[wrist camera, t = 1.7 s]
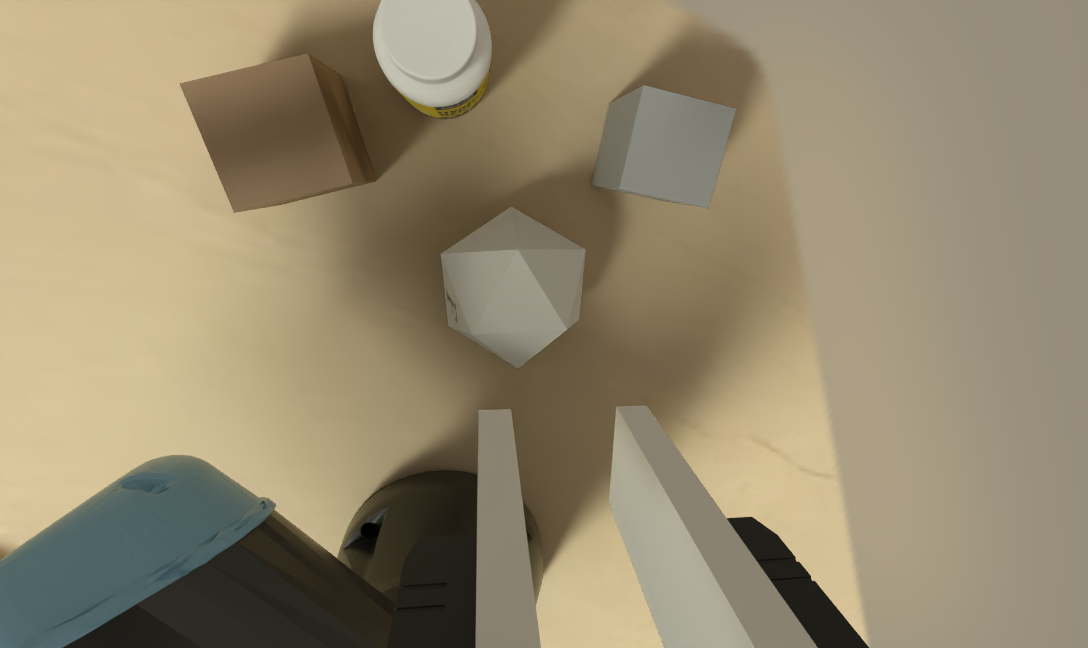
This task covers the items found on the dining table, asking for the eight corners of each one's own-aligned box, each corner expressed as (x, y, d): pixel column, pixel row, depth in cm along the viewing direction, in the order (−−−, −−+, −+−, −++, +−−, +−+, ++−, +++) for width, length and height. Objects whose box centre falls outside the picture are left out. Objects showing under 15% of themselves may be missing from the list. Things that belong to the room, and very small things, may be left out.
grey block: (663, 200, 33) (708, 208, 27) (591, 185, 33) (619, 188, 26) (683, 121, 32) (736, 108, 26) (609, 103, 31) (643, 85, 25)
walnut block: (376, 181, 31) (352, 183, 25) (280, 204, 31) (234, 212, 25) (341, 76, 29) (307, 53, 24) (239, 100, 29) (179, 83, 23)
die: (489, 181, 32) (393, 246, 25) (617, 209, 30) (549, 290, 23) (493, 287, 37) (414, 366, 30) (603, 320, 35) (543, 415, 28)
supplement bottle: (446, 140, 31) (430, 126, 21) (376, 68, 29) (326, 20, 20) (508, 73, 30) (520, 29, 21) (440, -4, 29) (420, -89, 19)
